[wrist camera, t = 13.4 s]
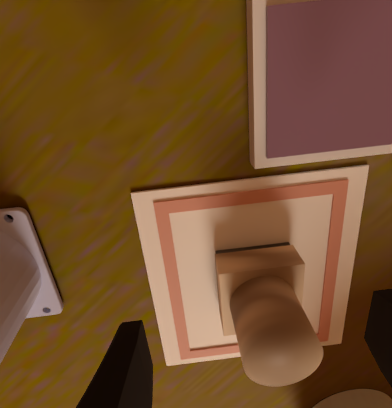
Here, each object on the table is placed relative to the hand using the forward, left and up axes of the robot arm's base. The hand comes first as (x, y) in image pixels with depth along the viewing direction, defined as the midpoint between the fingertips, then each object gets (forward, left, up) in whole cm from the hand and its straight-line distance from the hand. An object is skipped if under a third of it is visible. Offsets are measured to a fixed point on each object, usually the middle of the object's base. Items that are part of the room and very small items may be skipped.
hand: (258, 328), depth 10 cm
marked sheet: (+2, -6, -10) cm, 12 cm away
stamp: (+2, -6, -10) cm, 12 cm away
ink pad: (+6, +6, -10) cm, 13 cm away
